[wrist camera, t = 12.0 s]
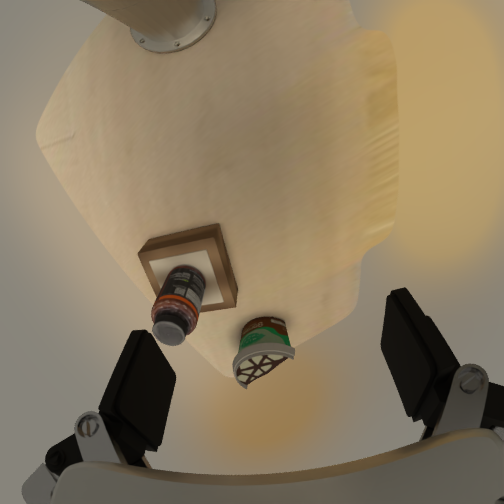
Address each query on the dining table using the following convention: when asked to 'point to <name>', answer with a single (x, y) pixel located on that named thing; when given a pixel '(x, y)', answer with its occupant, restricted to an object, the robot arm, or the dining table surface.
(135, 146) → the dining table surface
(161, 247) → the walnut base
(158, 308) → the supplement bottle
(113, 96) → the dining table surface
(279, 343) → the food container
